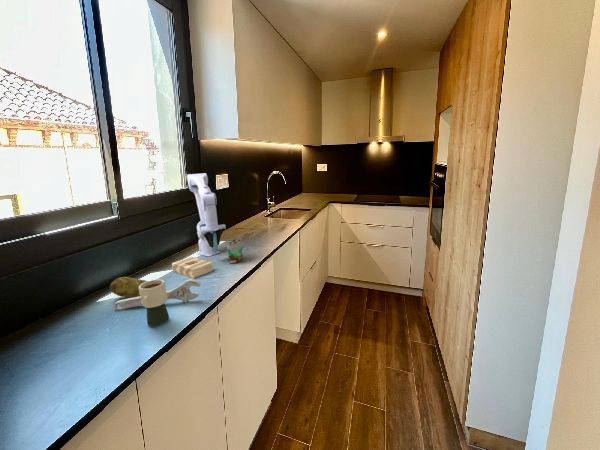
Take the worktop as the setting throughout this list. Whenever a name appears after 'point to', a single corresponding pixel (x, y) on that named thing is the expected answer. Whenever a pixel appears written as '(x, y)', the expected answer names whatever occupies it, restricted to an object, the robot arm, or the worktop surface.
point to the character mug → (154, 301)
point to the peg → (214, 243)
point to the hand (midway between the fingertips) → (214, 245)
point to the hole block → (192, 267)
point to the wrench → (177, 293)
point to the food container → (235, 251)
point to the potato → (126, 287)
